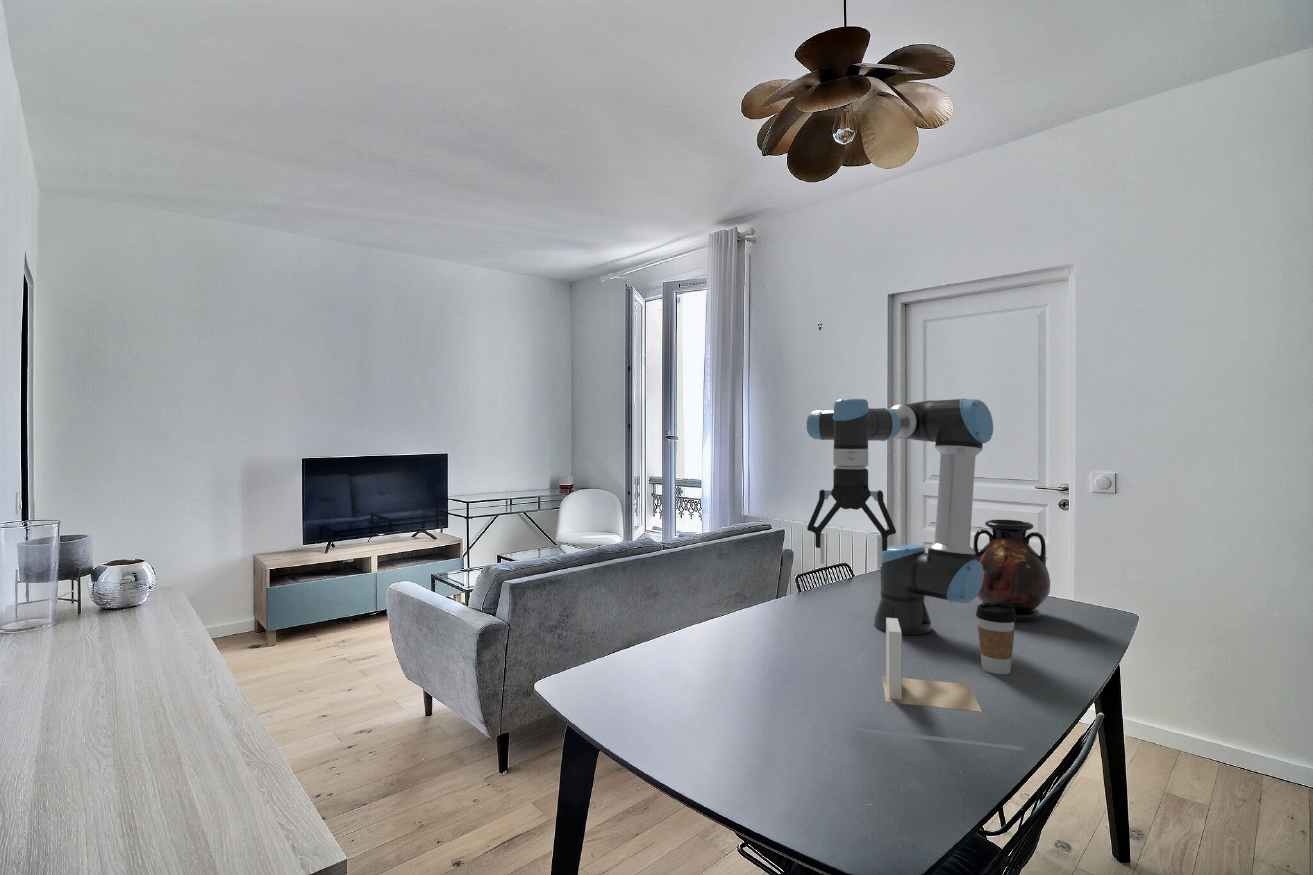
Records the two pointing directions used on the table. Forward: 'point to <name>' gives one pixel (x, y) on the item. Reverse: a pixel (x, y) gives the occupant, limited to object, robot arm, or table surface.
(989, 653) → the coffee cup
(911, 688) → the mat
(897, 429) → the robot arm
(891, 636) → the tile
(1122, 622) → the table surface
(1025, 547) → the amphora vase
